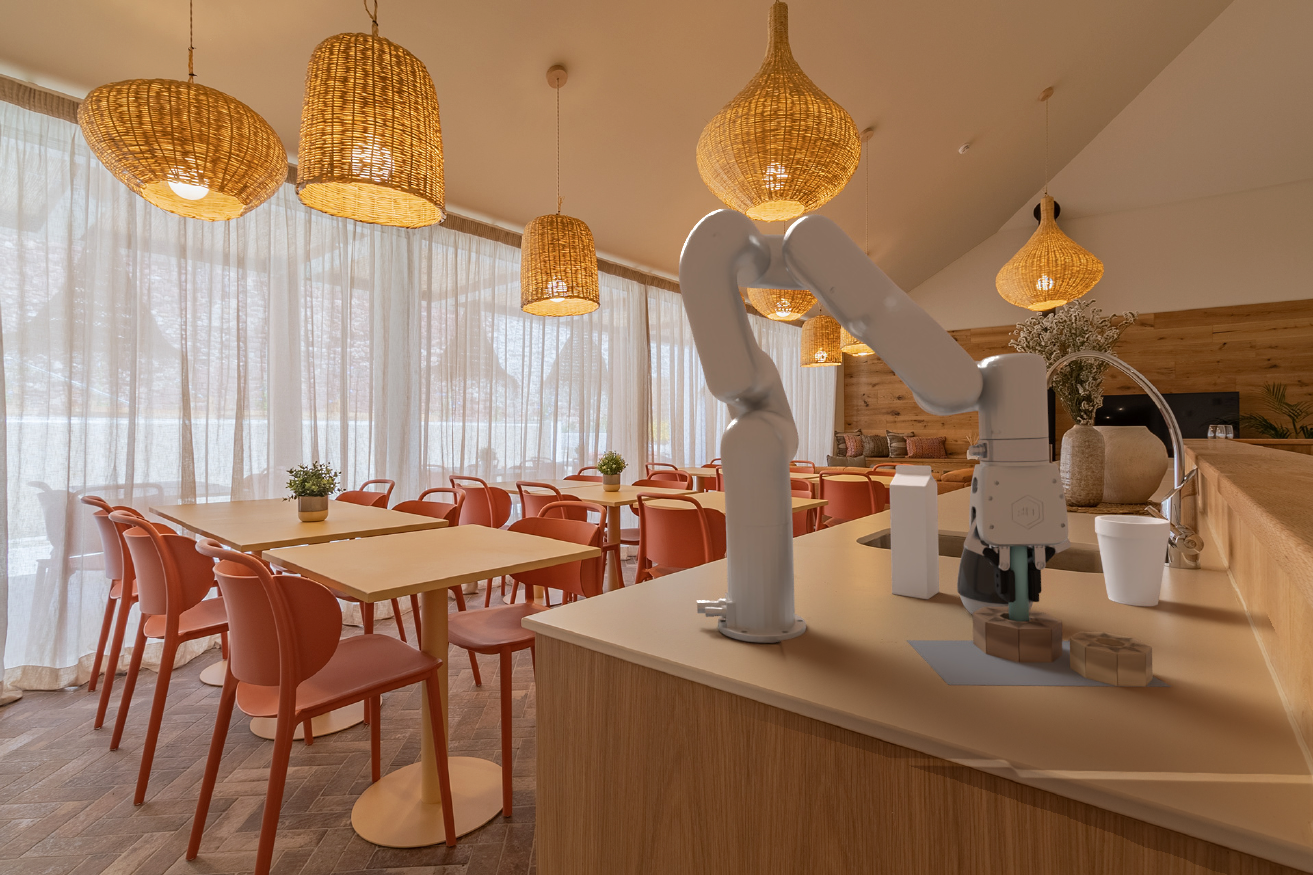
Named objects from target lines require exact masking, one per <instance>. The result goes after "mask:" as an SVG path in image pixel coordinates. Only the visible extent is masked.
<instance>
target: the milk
mask: <svg viewBox="0 0 1313 875" xmlns="http://www.w3.org/2000/svg"><path fill="white" fill-rule="evenodd" d="M938 501H939V500H938V483H937V480H936V479H935V478H934V476H933V475H932V467H931V465H914V464H913V465H912V464H911V465H910V464H909V465H908V464H907V465H905V464H904V465H903V464H897V465H896V466H895V474H894V476H893V478H892V480H891V482H890V483H889V506H890V507H889V514H890V520H889V521H890V553H891V554H890V556H891V558H890V559H891V560H890V562H891V566H890V567H891V594H892V595H897V596H904V597H911V598H916V599H922V600H929V599H930V598H933V597H934V596H935V595H936V594H938V593H940V562H939V561H940V560H939V555H940V553H939V510H938V508H939V506H938V505H939V504H938Z"/></svg>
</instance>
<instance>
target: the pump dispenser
mask: <svg viewBox="0 0 1313 875" xmlns="http://www.w3.org/2000/svg"><path fill="white" fill-rule="evenodd" d="M980 542H981V544H982V545H984V546H987V547H989V544H987V543H986V542H985V541H983V540H981V541H980ZM962 550H963V551H962V554H961V557H960V562H959V565H958V573H957V579H956V580H957V582H956V589H957V590H956V591H957V593H958V594H959V596H960V600H961V602H962V605H963V607H964V608H965V609H966V611H967V612H968V613H969V614H971V615H972V616H973V612H975V611H977V610H979V609H981V608H983V607H1009V602H1007V601H1005V600H1004V599H1002V598H1000V597H999V596H998V593H997V592H996V591H995V578H994V566H993V565H991V564H990V562H989V561H988V560H987V559H986V558H985V557H983V556H982V555H981V554H978V553H976V552H973V551H971V550H968V549H966V548H965V547H964V546H963V549H962ZM1033 604H1034V602H1033V601H1031V600H1029V610H1032V607H1033Z"/></svg>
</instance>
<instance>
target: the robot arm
mask: <svg viewBox="0 0 1313 875" xmlns="http://www.w3.org/2000/svg"><path fill="white" fill-rule="evenodd" d="M678 264H679V265H678V281H679V282H678V283H679V290H680V295H681V299H682V303H683V306H684V309H685V313H686V315H687V320H688V323H689V327H690V329H691V334H692V338H693V340H694V344H695V348H696V351H697V355H698V358H699V361H700V363H701V367H702V371H703V375H704V376H703V377H704V379H705V383H706V385H707V387H708V390H709V392H710V393H711V395H712V396H713V397H714V398H716V399H717V400H718V401H720V402H722V403H725V404H726V407H727V409H728V413H729V416H730V419H731V421H729V423H728V424H727V425H726V427H725V429H724V431H723V434H722V436H721V440H720V446H719V447H720V451H719V454H720V464H721V471H722V472H721V474H722V481H723V489H724V502H725V503H724V504H725V506H724V507H725V509H724V510H725V531H726V572H727V573H726V577H727V578H726V579H727V583H726V584H727V592H725V593H724V596H725V597H719V598H718V600H709V599H697V600H696V602H697V604H696V606H697V607H696V608H697V610H696V611H697V612H696V613H697V614H705V615H704V616H705V618H713V617H719V618H718V619H717V628H718V630H719V632H720V633H721V634H723V635H724V636H727V637H729V638H732V639H734V640H737V641H741V642H743V641H744V642H749V643H761V644H763V643H764V644H767V643H768V644H769V643H770V644H772V643H781V642H782V641H784V640H785V641H786V640H790V639H794V638H797V637H799V636H802V635H803V634H804V633H805V632H806V631H807V622H806V620H805V619H804V618H803V617H802V616H801V615H798V614H796V613H795V612H796V611H795V610H796V609H795V608H796V607H795V606H796V605H795V576H794V575H795V574H794V571H795V569H794V568H795V567H794V566H795V564H794V530H793V528H794V525H793V524H794V522H793V498H792V497H793V496H792V484H791V473H790V470H791V469H790V463H791V462H792V461H793V460H794V459H795V457H796V455H797V453H798V451H799V450H798V449H799V445H800V444H799V442H800V439H799V433H798V429H797V425H796V422H795V420H794V416H793V413H792V410H791V406H790V404H789V400H788V398H787V395H786V391H785V388H784V385H783V381H782V378H781V376H780V373H779V370H778V367H777V365H776V364H775V362H774V360H773V358H771V356H770V355H769V354H768V353H767V352H766V351H764V350H763V349H761V348H760V346H759V344H758V342H757V339H756V337H755V335H754V332H753V329H752V324H751V323H750V319H749V315H748V312H747V308H746V305H745V303H744V300H743V297H742V295H741V292H740V289H739V287H741V288H746V289H747V288H748V289H766V290H768V289H770V290H783V291H785V290H788V291H809V292H810V293H811V294H812V295H813V296H814V298H816V299H817V301H818V302H819V303H820V304H821V305H822V306H823V307H824V309H826V310H827V312H829V314H830V315H831V316H832V317H833V318H834V319H835V320H836V321H837V323H838V324H839V325H840V326H841V327H842V328H843V330H845V331H846V332H847V333H848V334H849V335H850V336H851V337H853V338H854V339H856V340H858V341H859V342H861V343H863V344H864V345H865V346H867V347H868V348H869V349H871V350H872V351H873V352H874V353H875V354H876V355H877V356H878V357H879V358H880V359H881V360H882V361H883V362H884V363H885V364H886V365H887V366H888V367H889V368H890V369H891V371H893V373H895V375H896V376H897V378H899V379H900V380H901V381H902V382H903V383H904V385H905V386H907V388H908V389H909V390H910V391H911V393H912V397H913V399H914V401H915V403H916V405H917V406H919V408H921V409H922V410H923V411H925V412H926V413H928V414H930V415H934V416H939V417H947V416H952V415H957V414H962V413H963V414H964V413H968V412H969V413H970V412H977V413H978V414H977V415H978V438H979V439H977V443H976V444H975V445H973V444H972V445H971V444H970V445H969V446H968V455H969V456H971V457H977V458H978V459H977V460H978V461H979V464H975V465H974V469H973V473H972V479H971V484H970V486H971V487H970V493H969V508H968V524H969V525H968V526H969V528H968V529H969V531H968V532H967V535H966V537H965V540H964V542H963V548H964V547H965V548H966V549H968V550H971V551H973V552H976V553H978V554H981V555H982V556H983V557H985V558H986V559H987V560H988V561H989V562H990V564H991V565H993V566H994V578H995V591H996V592H997V593H998V596H999V597H1000V598H1002V599H1004V600H1005V601H1007V602H1014V601H1015V600H1016V598H1015V573H1014V571H1013V570H1011V569H1010V546H1027V562H1028V594H1029V600H1031V601H1033V603H1039V602H1040V594H1041V593H1042V570H1044V569H1045V568H1046V566H1047V565H1046V564H1047V563H1048V562H1049V561H1050V560H1051V559H1052V558H1053V557H1054V556H1055V554H1059V553H1061V552H1063V551H1065V550H1068V549H1070V548H1071V547H1072V544H1071V541H1070V538H1069V520H1068V519H1069V518H1068V509H1067V508H1068V507H1067V500H1066V496H1065V491H1064V490H1065V489H1064V485H1063V480H1062V477H1061V473H1060V469H1059V467H1058V464H1057V463H1053V462H1052V463H1051V462H1050V444H1049V443H1050V442H1049V439H1050V438H1049V414H1048V412H1049V411H1048V410H1049V409H1048V405H1049V404H1048V376H1047V375H1048V374H1047V363H1046V361H1045V358H1044V357H1043V356H1042V355H1041V354H1037V353H1033V352H1014V353H1004V354H996V355H991V356H988V357H985V358H982V360H974V359H973V357H972V356H971V355H970V354H969V353H968V352H967V351H966V349H964V348H963V347H962V346H961V345H960V344H959V343H958V342H957V341H956V339H954V338H953V336H951V334H950V333H949V332H948V331H947V330H946V329H945V328H944V327H943V326H942V325H941V324H940V323H939V322H938V321H937V320H936V319H935V318H934V317H932V315H930V314H929V313H928V312H927V311H926V310H925V309H923V307H921V305H919V304H918V303H917V302H915V301H914V300H913V299H912V297H910V296H909V295H908V293H907V292H905V291H904V290H903V289H902V288H900V287H899V286H898V285H897V284H896V283H895V282H894V281H893V280H892V278H890V277H889V276H888V275H887V274H886V273H885V272H884V271H883V270H882V269H881V268H880V267H879V266H878V265H877V263H875V262H874V261H873V260H872V258H871V257H870V256H868V254H867V253H866V252H865V250H863V249H862V248H861V247H860V246H859V245H858V244H857V243H856V242H855V241H854V240H853V239H852V237H851V236H849V235H848V234H847V233H846V231H844V230H843V228H841V226H840V225H838V224H837V223H836V222H835V221H834V220H832V219H830V218H829V217H828V216H825V215H823V214H818V213H817V214H816V213H815V214H808V215H804V216H802V217H800V218H799V219H797V220H796V221H795V222H793V223H792V224H791V225H790V226H789V227H788V229H787V231H786V232H785V234H770V233H769V234H763V233H762V232H761V231H760V230H759V229H758V227H757V226H756V224H755V222H753V221H752V219H750V218H749V217H748V216H747V215H745V214H744V213H742V212H741V211H738V210H735V209H731V208H720V209H717V210H713V211H711V212H710V213H708V214H707V215H705V216H704V217H702V218H701V219H700V220H699V221H698V222H697V223H696V224H695V226H694V227H693V229H692V230H691V231H690V233H689V235H688V236H687V238H686V239H685V243H684V244H683V247H682V250H681V253H680V257H679V262H678ZM981 540H983V541H985V542H986V543H987V544H989V547H987V546H984V545H982V544H981V542H980V541H981Z"/></svg>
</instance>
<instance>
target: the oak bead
mask: <svg viewBox="0 0 1313 875" xmlns="http://www.w3.org/2000/svg"><path fill="white" fill-rule="evenodd" d="M1069 641H1070V668H1071V669H1073V670H1074V671H1076V672H1077V673H1079V674H1080V675H1082V676H1083V677H1085V678H1087V679H1091V680H1095V681H1099V682H1103V683H1107V684H1111V685H1115V686H1114V687H1117V686H1147V685H1148V684H1149V682H1150V681H1151V680H1152V679H1153V676H1154V675H1153V646H1151V645H1149V644H1147V643H1145V642H1144V641H1141V640H1139V639H1137V638H1135V637H1132V636H1126V635H1121V634H1116V633H1112V632H1107V631H1106V632H1105V631H1076V633H1074V634H1073V635H1071V636H1070V637H1069Z"/></svg>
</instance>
